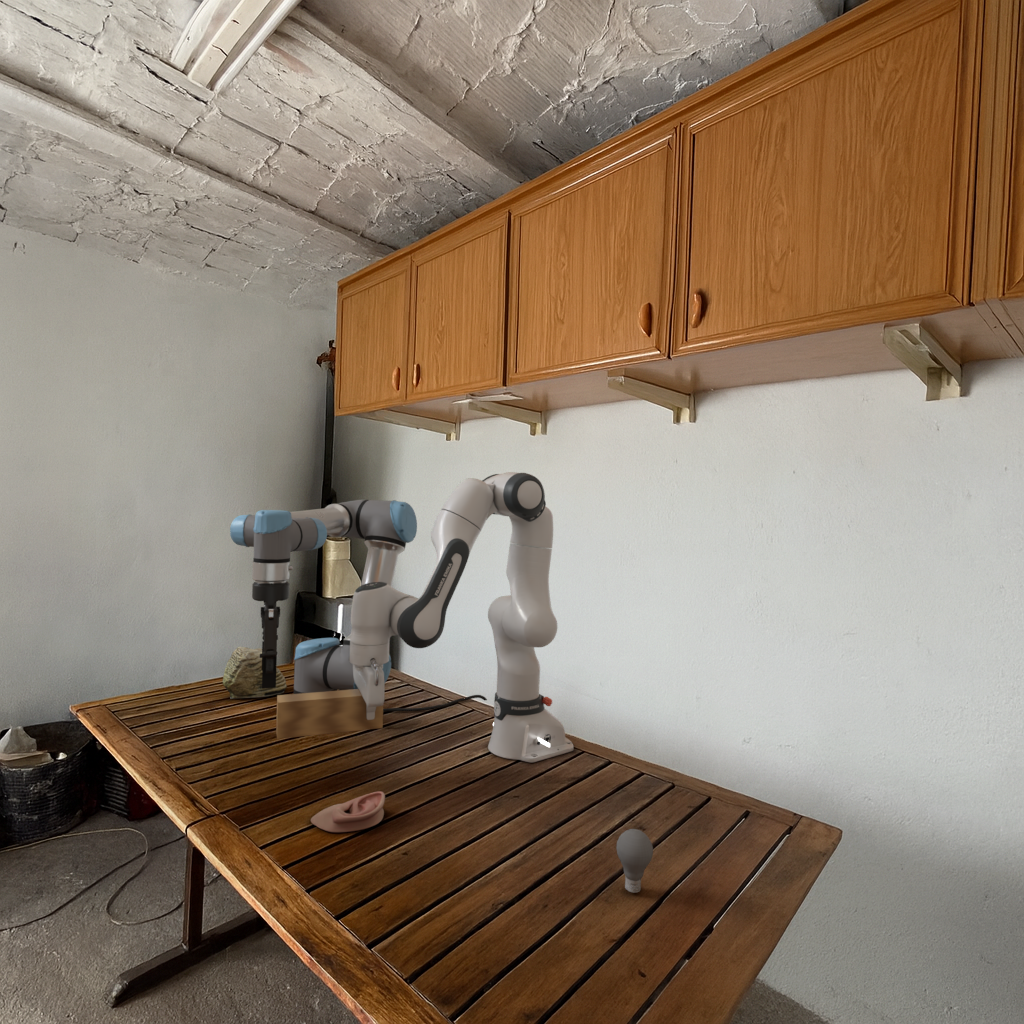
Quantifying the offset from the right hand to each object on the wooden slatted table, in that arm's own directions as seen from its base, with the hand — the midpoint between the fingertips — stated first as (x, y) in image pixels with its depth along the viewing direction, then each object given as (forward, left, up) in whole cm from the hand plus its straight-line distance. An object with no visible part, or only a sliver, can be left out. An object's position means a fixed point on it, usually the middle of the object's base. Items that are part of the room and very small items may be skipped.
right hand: (367, 713), depth 145 cm
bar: (+8, -1, -3) cm, 9 cm away
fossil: (+18, -69, -14) cm, 72 cm away
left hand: (+21, -3, +9) cm, 23 cm away
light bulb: (-30, +60, -14) cm, 68 cm away
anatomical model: (+8, +19, -14) cm, 25 cm away
